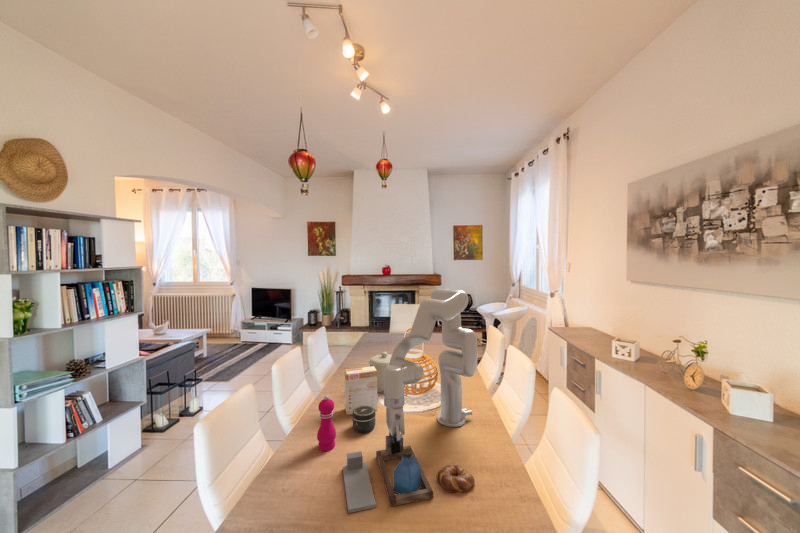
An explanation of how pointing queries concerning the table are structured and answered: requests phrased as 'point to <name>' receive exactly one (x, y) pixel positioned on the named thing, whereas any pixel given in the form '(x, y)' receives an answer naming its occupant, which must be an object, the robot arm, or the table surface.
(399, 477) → the perfume bottle
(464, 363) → the robot arm
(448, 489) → the pretzel
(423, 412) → the table surface
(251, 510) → the table surface
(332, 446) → the pepper mill
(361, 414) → the jar
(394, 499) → the rectangular wooden frame
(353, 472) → the grey l-shaped piece
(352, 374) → the coffeecake box
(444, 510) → the table surface
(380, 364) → the canister
